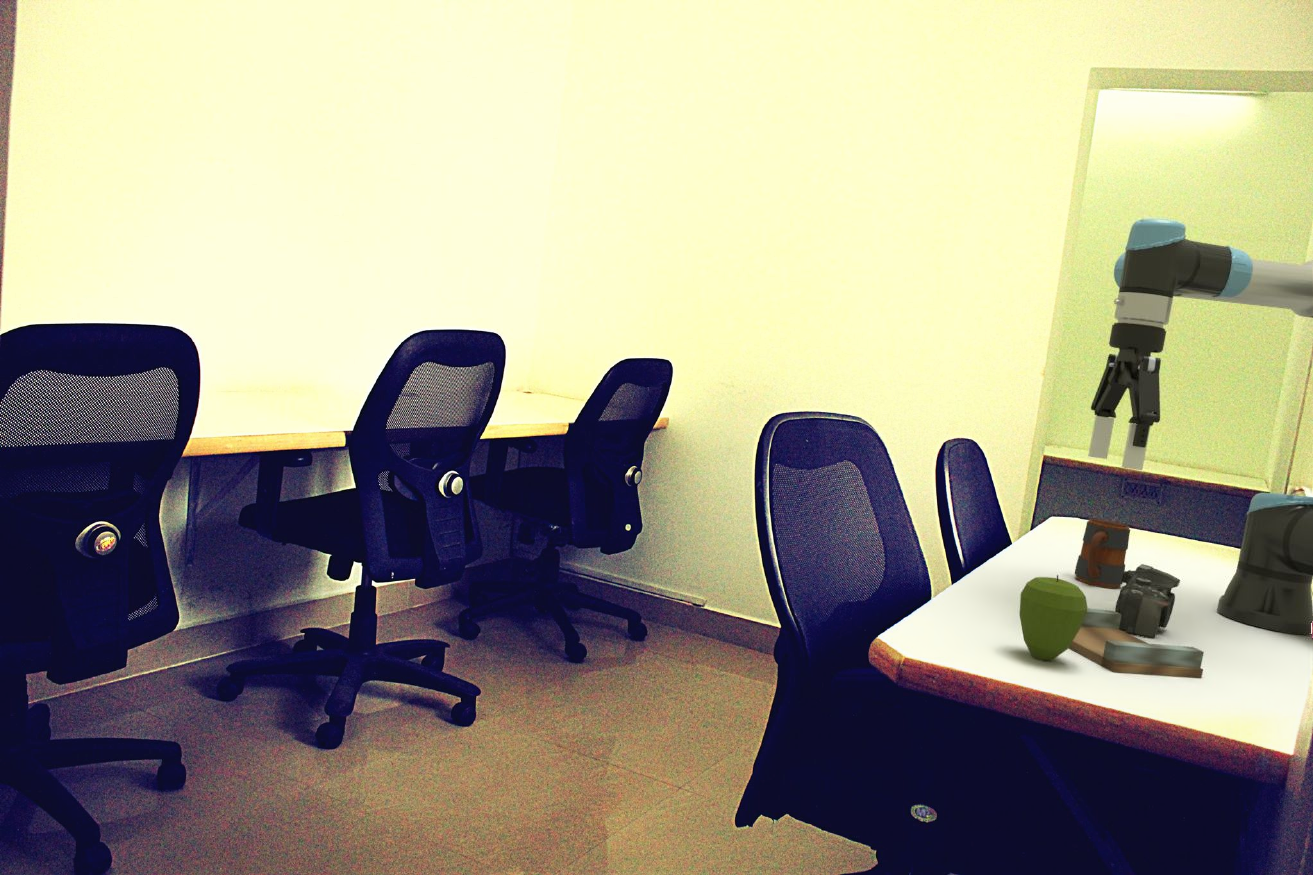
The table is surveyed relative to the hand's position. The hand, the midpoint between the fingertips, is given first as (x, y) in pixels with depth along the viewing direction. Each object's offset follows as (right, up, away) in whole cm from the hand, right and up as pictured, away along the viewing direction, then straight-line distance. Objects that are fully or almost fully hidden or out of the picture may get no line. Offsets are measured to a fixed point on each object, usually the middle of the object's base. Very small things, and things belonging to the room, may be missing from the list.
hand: (1113, 463), depth 161 cm
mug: (+14, -24, +40) cm, 49 cm away
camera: (+7, -27, +8) cm, 29 cm away
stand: (-5, -27, -10) cm, 29 cm away
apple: (-18, -26, -19) cm, 37 cm away
